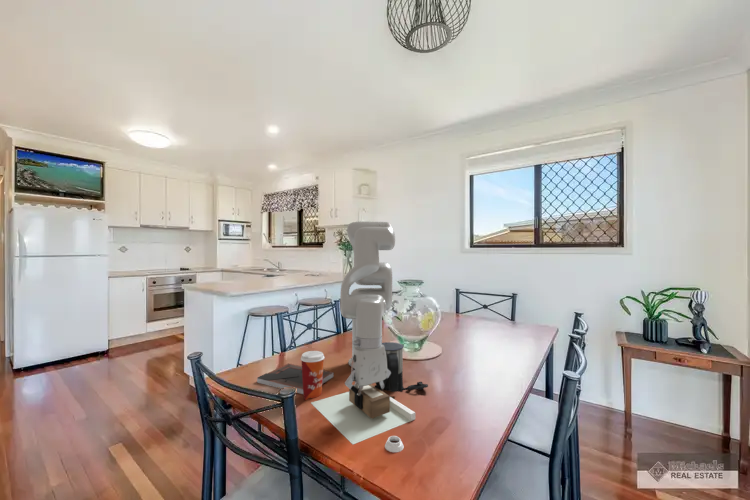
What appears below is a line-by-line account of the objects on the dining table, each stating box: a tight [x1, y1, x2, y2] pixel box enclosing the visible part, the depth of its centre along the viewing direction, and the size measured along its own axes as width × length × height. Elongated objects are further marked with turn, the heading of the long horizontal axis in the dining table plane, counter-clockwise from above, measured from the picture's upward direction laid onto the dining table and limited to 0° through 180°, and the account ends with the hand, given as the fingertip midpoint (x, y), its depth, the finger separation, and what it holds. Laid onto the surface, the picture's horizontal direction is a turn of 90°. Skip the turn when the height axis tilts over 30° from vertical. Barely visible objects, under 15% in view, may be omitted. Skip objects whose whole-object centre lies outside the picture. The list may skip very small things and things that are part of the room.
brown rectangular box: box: [348, 384, 391, 418], centre depth 91 cm, size 12×6×5 cm, turn 35°
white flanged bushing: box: [384, 435, 405, 453], centre depth 75 cm, size 5×3×5 cm
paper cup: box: [300, 350, 325, 401], centre depth 102 cm, size 8×8×14 cm
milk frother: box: [382, 341, 429, 393], centre depth 108 cm, size 14×16×15 cm
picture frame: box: [256, 363, 334, 395], centre depth 116 cm, size 16×2×22 cm
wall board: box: [310, 391, 416, 445], centre depth 91 cm, size 20×25×5 cm
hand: (368, 403), depth 91 cm, fingers closed on brown rectangular box, 5 cm apart
